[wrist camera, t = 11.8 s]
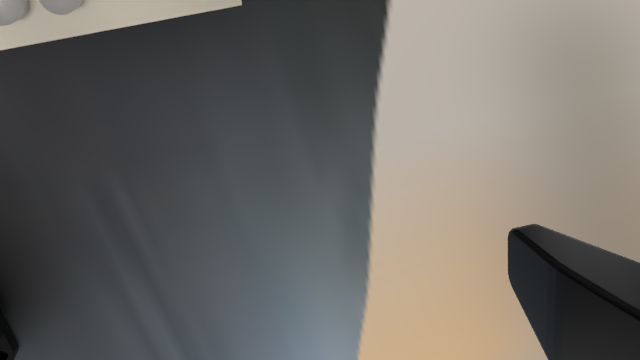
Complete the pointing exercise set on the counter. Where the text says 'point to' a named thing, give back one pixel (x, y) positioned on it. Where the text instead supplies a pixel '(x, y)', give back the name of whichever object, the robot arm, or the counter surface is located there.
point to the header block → (88, 16)
